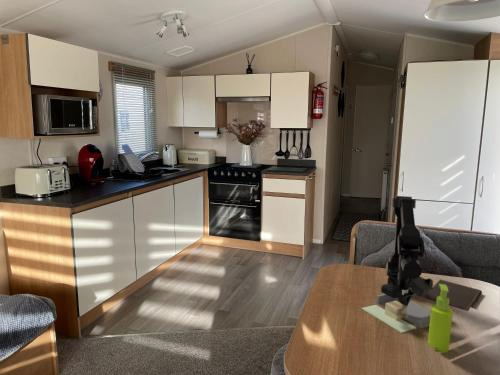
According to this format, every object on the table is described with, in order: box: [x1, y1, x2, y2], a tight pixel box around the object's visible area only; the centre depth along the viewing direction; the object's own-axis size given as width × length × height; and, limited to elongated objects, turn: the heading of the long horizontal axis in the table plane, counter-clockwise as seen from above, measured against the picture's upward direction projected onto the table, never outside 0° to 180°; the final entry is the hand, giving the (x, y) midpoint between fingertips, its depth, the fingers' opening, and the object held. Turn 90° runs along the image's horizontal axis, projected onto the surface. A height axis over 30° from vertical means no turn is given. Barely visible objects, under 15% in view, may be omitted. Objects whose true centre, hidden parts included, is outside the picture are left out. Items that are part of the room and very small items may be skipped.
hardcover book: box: [422, 279, 483, 312], centre depth 151 cm, size 16×23×2 cm
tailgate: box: [361, 304, 417, 334], centre depth 132 cm, size 1×18×7 cm
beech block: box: [384, 301, 407, 320], centre depth 133 cm, size 5×5×4 cm
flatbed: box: [376, 293, 431, 329], centre depth 137 cm, size 13×20×4 cm, turn 27°
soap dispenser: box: [427, 284, 454, 354], centre depth 115 cm, size 6×7×20 cm
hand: (403, 308), depth 135 cm, fingers closed
